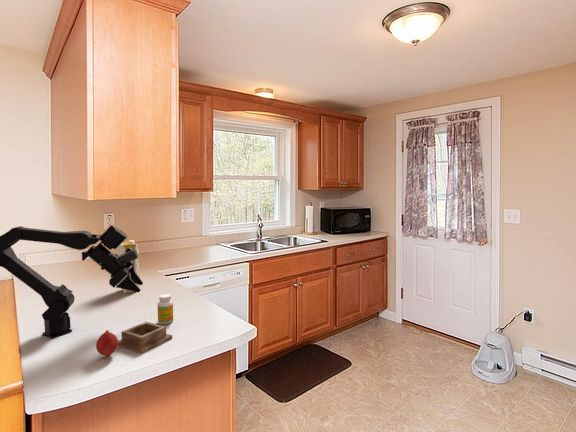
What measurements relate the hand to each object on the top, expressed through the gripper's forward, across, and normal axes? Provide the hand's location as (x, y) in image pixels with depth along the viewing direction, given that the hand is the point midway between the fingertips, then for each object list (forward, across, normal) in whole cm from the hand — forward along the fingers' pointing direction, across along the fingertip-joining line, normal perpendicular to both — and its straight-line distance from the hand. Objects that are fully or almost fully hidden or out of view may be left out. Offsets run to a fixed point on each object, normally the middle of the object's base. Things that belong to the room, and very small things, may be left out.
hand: (141, 287), depth 126 cm
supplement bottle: (+15, 0, +4) cm, 16 cm away
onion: (+4, -23, +15) cm, 28 cm away
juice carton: (+3, +46, +16) cm, 48 cm away
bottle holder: (+11, -16, +8) cm, 21 cm away
